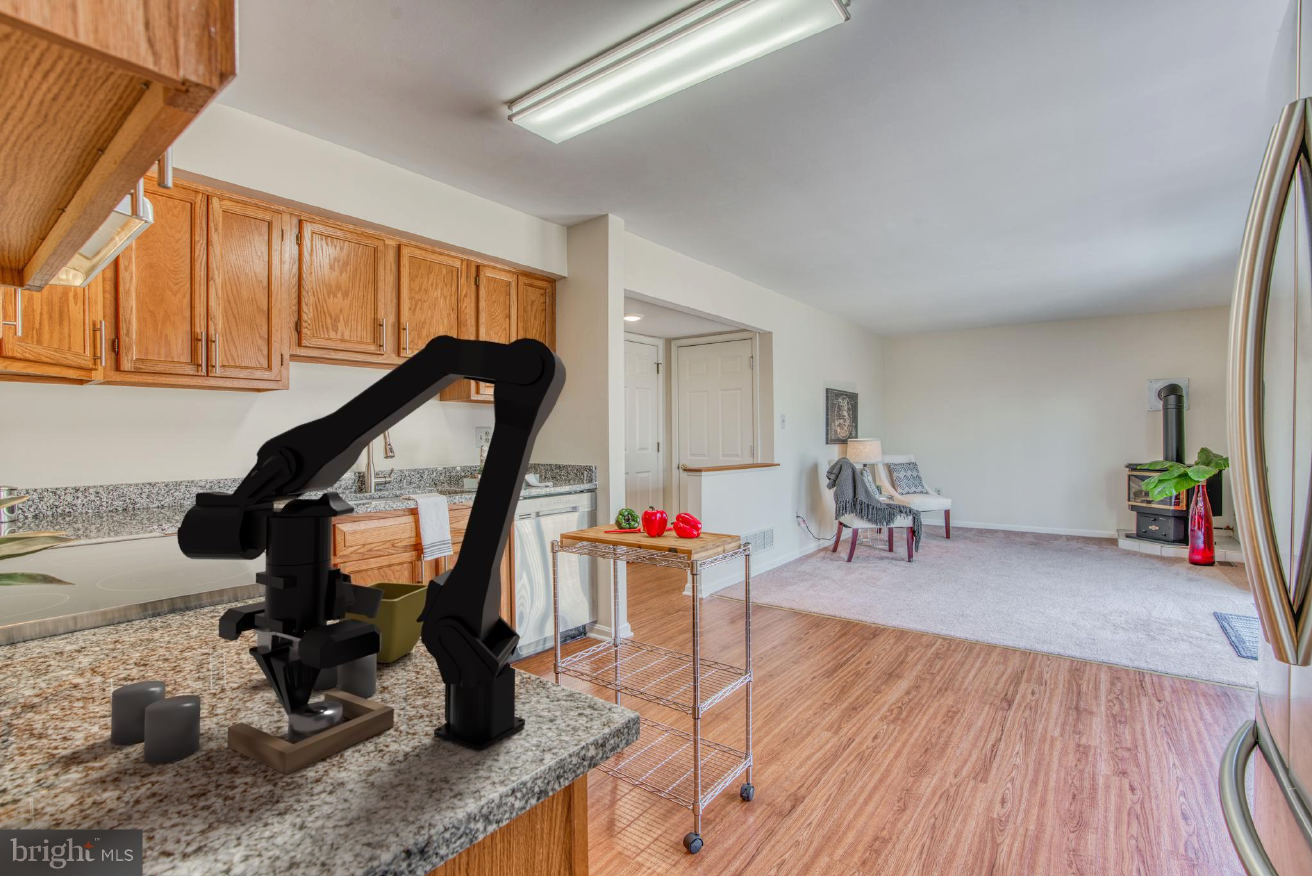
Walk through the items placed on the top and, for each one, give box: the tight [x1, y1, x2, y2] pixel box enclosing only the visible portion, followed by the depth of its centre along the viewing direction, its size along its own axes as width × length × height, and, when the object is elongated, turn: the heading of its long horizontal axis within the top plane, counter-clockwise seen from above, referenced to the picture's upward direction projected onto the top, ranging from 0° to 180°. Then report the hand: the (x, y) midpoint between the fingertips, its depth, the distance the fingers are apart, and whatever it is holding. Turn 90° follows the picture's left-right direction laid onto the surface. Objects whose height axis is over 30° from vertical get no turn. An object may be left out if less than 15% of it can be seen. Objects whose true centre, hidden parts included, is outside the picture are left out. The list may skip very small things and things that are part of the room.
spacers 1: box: [110, 680, 202, 765], centre depth 58 cm, size 11×4×4 cm, turn 60°
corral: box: [227, 688, 395, 776], centre depth 59 cm, size 10×11×2 cm
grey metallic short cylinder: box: [287, 700, 343, 744], centre depth 59 cm, size 5×5×3 cm
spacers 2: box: [313, 653, 377, 699], centre depth 73 cm, size 16×4×4 cm, turn 60°
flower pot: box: [338, 581, 428, 664], centre depth 82 cm, size 9×9×9 cm
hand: (296, 716), depth 61 cm, fingers closed
